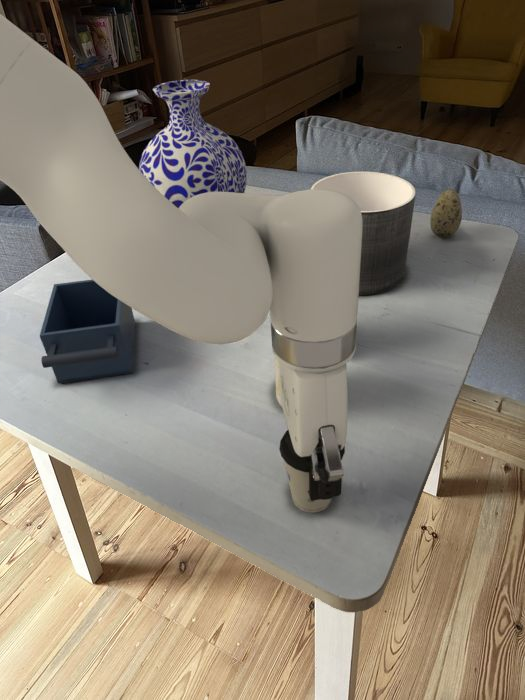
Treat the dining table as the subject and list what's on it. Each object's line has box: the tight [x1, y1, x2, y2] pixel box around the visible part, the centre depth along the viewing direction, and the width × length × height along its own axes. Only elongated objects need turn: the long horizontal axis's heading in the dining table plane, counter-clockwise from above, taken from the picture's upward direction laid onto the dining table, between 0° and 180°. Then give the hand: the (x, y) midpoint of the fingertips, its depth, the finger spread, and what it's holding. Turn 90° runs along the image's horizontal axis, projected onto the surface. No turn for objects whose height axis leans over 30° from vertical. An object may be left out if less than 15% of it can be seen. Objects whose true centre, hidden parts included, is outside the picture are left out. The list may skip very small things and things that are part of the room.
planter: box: [309, 171, 417, 296], centre depth 96 cm, size 18×18×16 cm
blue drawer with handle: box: [39, 279, 136, 385], centre depth 81 cm, size 18×11×9 cm, turn 9°
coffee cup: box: [278, 429, 346, 514], centre depth 59 cm, size 7×7×10 cm
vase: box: [138, 79, 248, 208], centre depth 107 cm, size 22×22×30 cm
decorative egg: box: [429, 188, 463, 239], centre depth 107 cm, size 6×6×10 cm
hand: (313, 459), depth 58 cm, fingers open, 9 cm apart
